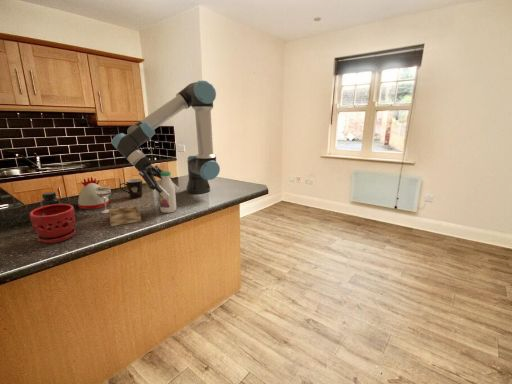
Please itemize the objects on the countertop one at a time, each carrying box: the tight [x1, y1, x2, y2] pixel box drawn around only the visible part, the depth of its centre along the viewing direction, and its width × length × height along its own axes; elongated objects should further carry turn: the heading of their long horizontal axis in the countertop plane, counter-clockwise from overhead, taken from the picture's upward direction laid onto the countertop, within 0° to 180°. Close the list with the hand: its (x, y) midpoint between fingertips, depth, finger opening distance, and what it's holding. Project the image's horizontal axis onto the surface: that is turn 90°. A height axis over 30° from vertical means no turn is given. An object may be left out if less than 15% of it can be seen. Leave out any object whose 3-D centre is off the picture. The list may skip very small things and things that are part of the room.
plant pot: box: [29, 203, 77, 244], centre depth 96 cm, size 13×13×12 cm
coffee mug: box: [119, 178, 143, 200], centre depth 150 cm, size 12×9×10 cm
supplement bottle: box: [40, 191, 61, 216], centre depth 115 cm, size 7×7×12 cm
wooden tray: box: [108, 205, 142, 227], centre depth 117 cm, size 12×12×4 cm
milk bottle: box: [158, 170, 177, 214], centre depth 127 cm, size 8×8×20 cm
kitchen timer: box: [77, 176, 110, 210], centre depth 135 cm, size 14×14×15 cm
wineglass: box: [95, 185, 112, 214], centre depth 125 cm, size 7×7×12 cm
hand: (172, 193), depth 126 cm, fingers open, 10 cm apart
